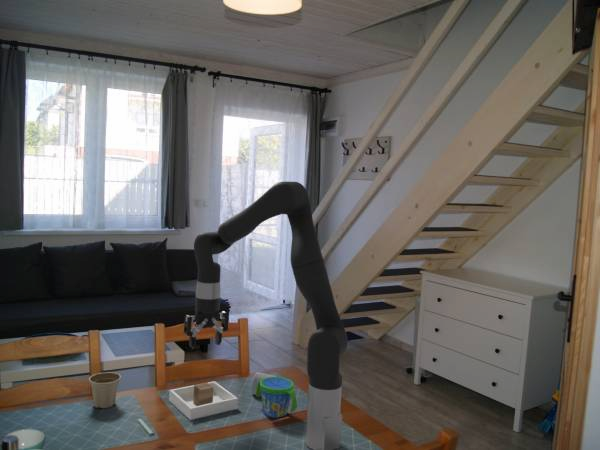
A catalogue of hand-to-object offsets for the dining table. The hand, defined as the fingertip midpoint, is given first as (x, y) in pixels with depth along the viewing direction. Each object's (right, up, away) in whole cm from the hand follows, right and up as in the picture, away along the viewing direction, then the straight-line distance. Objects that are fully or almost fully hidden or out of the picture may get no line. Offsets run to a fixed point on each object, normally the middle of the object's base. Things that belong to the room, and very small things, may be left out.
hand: (205, 346), depth 163 cm
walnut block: (-1, -19, +1) cm, 19 cm away
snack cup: (+22, -21, -1) cm, 31 cm away
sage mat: (-11, -20, -12) cm, 26 cm away
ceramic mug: (+18, -20, +14) cm, 30 cm away
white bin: (-1, -20, +1) cm, 20 cm away
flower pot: (-31, -18, -1) cm, 36 cm away
